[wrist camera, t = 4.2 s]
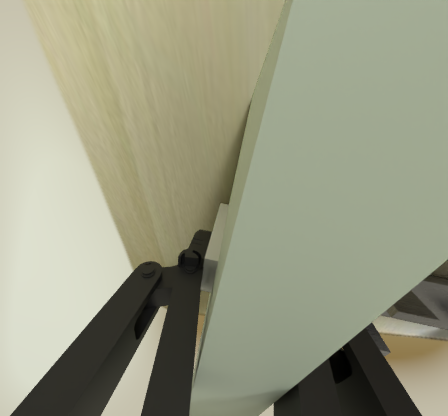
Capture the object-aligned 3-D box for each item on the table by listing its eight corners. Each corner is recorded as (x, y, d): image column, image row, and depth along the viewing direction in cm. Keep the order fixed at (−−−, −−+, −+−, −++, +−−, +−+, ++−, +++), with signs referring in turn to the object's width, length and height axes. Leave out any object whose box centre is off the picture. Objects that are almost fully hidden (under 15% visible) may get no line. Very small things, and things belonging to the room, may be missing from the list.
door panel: (252, 95, 11) (315, -83, 1) (316, 108, 11) (951, 35, 1) (213, 275, 20) (182, 427, 10) (247, 283, 20) (250, 442, 10)
